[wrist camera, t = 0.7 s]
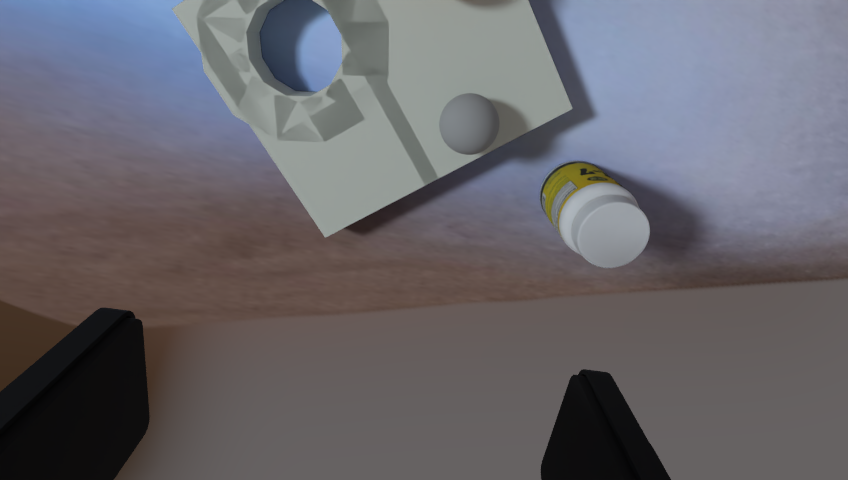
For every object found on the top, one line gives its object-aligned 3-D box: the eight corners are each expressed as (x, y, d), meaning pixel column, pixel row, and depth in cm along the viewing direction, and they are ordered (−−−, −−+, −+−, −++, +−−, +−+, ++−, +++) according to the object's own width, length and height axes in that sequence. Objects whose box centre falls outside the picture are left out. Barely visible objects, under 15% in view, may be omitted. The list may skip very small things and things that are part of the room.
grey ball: (479, 79, 29) (487, 84, 26) (504, 131, 30) (514, 142, 27) (428, 107, 30) (428, 116, 27) (454, 157, 31) (458, 171, 28)
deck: (447, -172, 26) (449, -192, 24) (562, 103, 32) (572, 108, 30) (179, 7, 30) (159, 5, 28) (325, 227, 36) (318, 240, 33)
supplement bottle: (619, 178, 34) (676, 220, 26) (580, 233, 36) (624, 288, 28) (562, 146, 33) (604, 180, 25) (525, 204, 35) (554, 253, 27)
